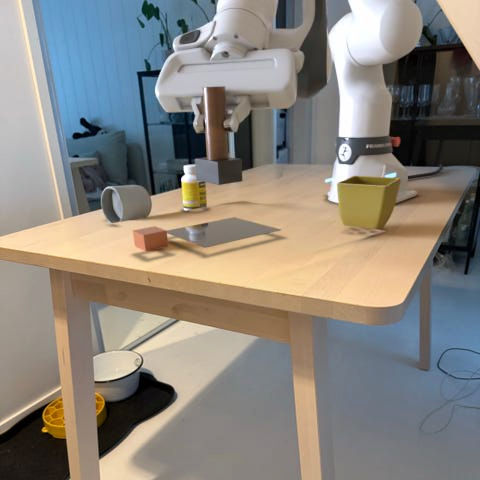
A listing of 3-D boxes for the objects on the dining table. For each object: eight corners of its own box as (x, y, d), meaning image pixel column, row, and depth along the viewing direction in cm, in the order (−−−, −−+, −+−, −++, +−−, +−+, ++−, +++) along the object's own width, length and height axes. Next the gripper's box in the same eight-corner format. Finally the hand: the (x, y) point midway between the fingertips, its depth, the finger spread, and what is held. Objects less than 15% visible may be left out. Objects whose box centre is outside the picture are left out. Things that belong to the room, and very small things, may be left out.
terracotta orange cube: (155, 226, 75) (132, 230, 73) (166, 230, 72) (143, 235, 70) (157, 249, 77) (135, 254, 75) (169, 255, 74) (146, 260, 72)
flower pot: (382, 239, 78) (387, 185, 74) (333, 234, 82) (336, 182, 78) (396, 228, 85) (401, 177, 81) (350, 223, 89) (353, 175, 85)
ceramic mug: (156, 219, 97) (152, 182, 94) (125, 227, 92) (119, 188, 88) (125, 215, 104) (120, 179, 100) (94, 222, 98) (88, 185, 95)
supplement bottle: (203, 212, 103) (200, 166, 99) (180, 212, 104) (176, 167, 100) (209, 207, 107) (207, 163, 103) (187, 207, 109) (184, 164, 104)
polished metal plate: (234, 224, 91) (234, 217, 91) (281, 238, 81) (281, 229, 80) (163, 239, 83) (162, 231, 82) (205, 256, 73) (204, 247, 72)
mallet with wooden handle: (219, 176, 69) (214, 87, 64) (242, 181, 65) (239, 85, 59) (196, 180, 67) (189, 88, 62) (218, 185, 62) (213, 86, 57)
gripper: (309, 66, 66) (293, 144, 62) (180, 74, 72) (157, 146, 68) (303, 25, 60) (285, 109, 56) (164, 38, 67) (138, 114, 62)
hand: (214, 129), depth 62 cm, fingers closed on mallet with wooden handle, 3 cm apart
